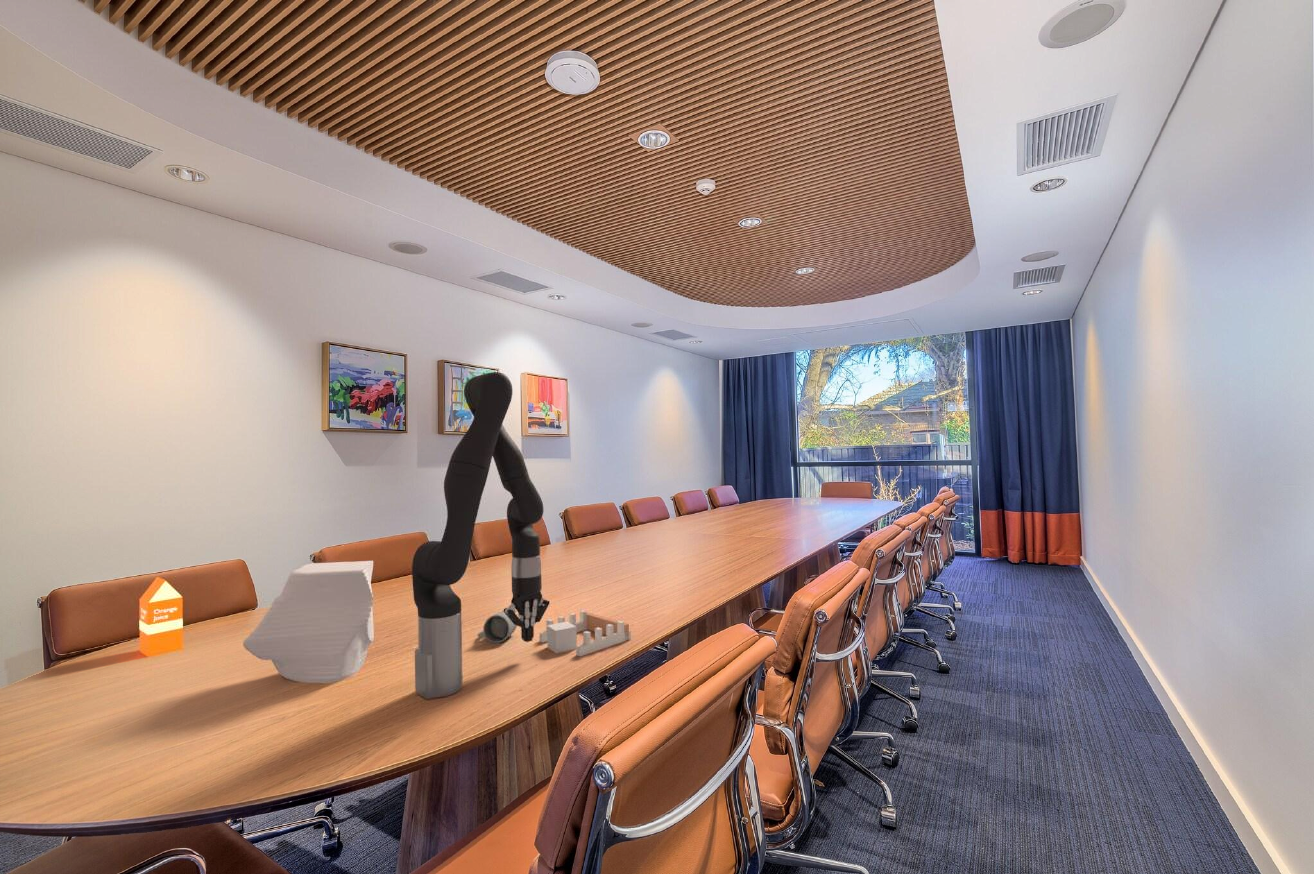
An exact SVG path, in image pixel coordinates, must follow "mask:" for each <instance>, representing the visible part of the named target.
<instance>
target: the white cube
mask: <svg viewBox="0 0 1314 874" xmlns="http://www.w3.org/2000/svg"><path fill="white" fill-rule="evenodd" d="M546 631H547V643H546V645H547V648H548V649H549V650H551V651H552V652H554V653H555V654H560V653H563V652H569V651H572V650H576V646H577V645H578V640H577V639H578V637H577V633H578V632H577V633H576V626H574V625H573V624H571V623H569V621H565V622H562V623H558V622H556V623H553V624H552V625H547V626H546Z"/></svg>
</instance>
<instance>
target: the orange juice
mask: <svg viewBox="0 0 1314 874" xmlns="http://www.w3.org/2000/svg"><path fill="white" fill-rule="evenodd" d="M183 620H184V619H183V596H182V595H181V594H180V593H179V592H178V591H177V590H176V589H175V588H174V587H173V586H172V585H171V584H170V583H169V582H168V581H167V580H166V579H163V578H162V577H159V576H156V578H155V579H154V581H152V583H151V584H150V585H149V587H148V588H147V589H146V591H145V592H144V593H143V594H142V596H141V597H140V598H139V621H138V623H139V651H140V653H142V654H143V655H145V656H146V657H148V658H150V657H154V656H155V657H156V656H159V655H163V654H167V653H173V652H177V651H181V650H184V649H183V646H184V645H183V644H184V643H183V641H184V640H183V637H184V636H183V633H184V632H183V631H184V629H183V627H184V626H183V625H184V621H183Z"/></svg>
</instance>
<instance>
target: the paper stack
mask: <svg viewBox="0 0 1314 874" xmlns="http://www.w3.org/2000/svg"><path fill="white" fill-rule="evenodd" d="M373 570H374V560H360V561H337V562H314V563H306V564H304V565H302V566H300V567H299V568H296V569H294V570H293V571H291V572H290V574H289V576H288V578H287V580H286V582H285V585H284V586H283V588H282V591H281V593H280V595H279V596H277V597H275V598H274V600H273V602H272V603H271V606H270V607H269V609H268V610H267V611H266V614H265V615H264V616H263V617H262V618H261V621H259V624H258V626H256V627H255V629H253V631H252V632H250V634H248V636H247V637H246V638H245V639H244V640H243V642H242V646H243V648H244V649H245V650H246V651H248V652H249V653H250V654H252V656H254V657H256V658H257V659H260V660H261V661H262V660H263V661H264V660H265V661H270V660H271V662H272V664H273V666H274V667H275V669H276V671H277V672H278V673H279V674H280V675H281V676H283V678H285V679H287V680H290V681H293V682H296V683H298V682H299V683H304V684H305V683H307V684H308V683H309V684H313V683H314V684H332V683H337V682H340V681H343V680H345V679H347V678H349V677H352V676H354V675H355V674H357V673H358V672H359V671H360V670H361V668H363V665H364V663H365V659H366V657H367V654H368V650H369V648H370V645H371V643H372V642H374V638H375V636H374V635H375V634H374V633H375V629H374V628H375V627H374V615H373V612H374V611H373V602H374V593H373V590H372V586H371V585H372V584H371V583H372V582H371V581H372V578H373V577H372V576H373Z"/></svg>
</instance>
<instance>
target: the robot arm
mask: <svg viewBox="0 0 1314 874" xmlns="http://www.w3.org/2000/svg"><path fill="white" fill-rule="evenodd" d="M463 396H464V400H465V402H466V405H467V407H468V409H469V411H470V413H471V414H472V417H473V419H472V422H471V424H470V426H469V428H468V429H467V430H466V432H465V433H464V435H463V437H462V438H461V439H460V441H459V443H458V444H457V445H456V447H455V449H454V450H453V452H452V454H451V456H450V460H449V463H448V465H447V470H446V472H445V476H444V481H443V492H444V493H443V494H444V499H445V505H446V512H447V513H446V515H447V517H446V523H445V528H444V532H443V535H442V538H441V541H438V540H429V541H425V542H423V543H422V544H420V545H419V546H418V547H417V549H416V550H415V553H414V554H413V558H412V564H411V578H412V593H413V594H412V595H413V601H414V604H415V606H416V609H417V629H418V630H417V632H418V633H417V634H418V635H417V641H418V644H417V645H418V648H416V649H414V688H415V690H414V691H415V692H414V693H416V694H418V695H419V696H421V697H422V698H424V699H426V700H429V699H430V700H431V699H434V698H443V697H447V696H451V695H454V694H456V693H457V692H459V691H461V690H462V688H463V679H464V678H463V645H462V644H463V642H462V641H463V635H462V634H463V633H462V629H463V628H462V625H463V623H462V600H461V598H460V597H459V596H458V595H457V594H456V592H454V590H453V589H452V587H451V585H454V584H456V583H458V582H459V581H460V580H461V579H462V578H463V576H464V575H465V573H466V571H467V568H468V565H469V560H470V556H471V551H472V550H471V549H472V542H473V536H474V530H475V525H476V521H477V517H478V513H479V509H480V505H481V500H482V496H483V492H484V489H485V486H486V483H487V479H488V476H489V472H490V468H491V463H492V459H493V461H494V464H495V467H496V470H497V472H498V476H499V479H500V483H501V484H502V487H503V488H504V490H506V491H507V492H508V493H510V495H511V497H512V498H511V499H510V501H508V504H507V507H506V519H507V525H508V528H509V533H510V536H511V541H512V542H511V556H512V559H511V565H510V566H511V567H510V568H511V592H512V593H511V594H512V598H511V601H510V605H509V606H508V607H504V608H503V611H504V613H505V614H506V615H507V616H508V618H509V619H510V620H511V621H512V622H513V623H514V625H517V627H520V630H521V633H520V634H521V637H520V638H521V640H522V641H523V642H525V643H529V642H532V641H533V638H534V637H535V632H534V631H535V629H534V626H535V625H536V623H540V621H541V620H542V619H543V616H544V615H545V613H546V611H547V609H548V607H549V606H550V600H547V599H545V598H544V597H543V594H542V592H541V591H542V588H543V587H542V561H541V547H540V545H541V543H540V536H539V534H538V533H537V532H535V529H534V526H533V525H534V524H537V523H538V522H540V521H541V519H542V517H543V515H544V504H543V503H544V502H543V501H542V500H543V499H542V497H541V495H540V494H539V492H538V490H537V488H536V486H535V485H534V483H533V481H532V479H531V477H530V475H529V471H528V468H527V465H526V462H525V458H524V457H523V454H522V451H521V450H520V448H519V447H518V445H517V443H516V442H515V441H514V440H513V439H512V437H511V436H510V434H509V433H508V432H507V430H506V428H505V426H504V425H503V423H504V420H505V418H506V415H507V413H508V410H509V407H510V405H511V402H512V398H513V385H512V382H511V380H510V378H509V377H508V375H506V374H505V373H503V372H500V371H494V372H493V371H492V372H487V373H484V374H479V375H476V376H473V377H471V378H470V379H468V380H467V381H466V383H465V385H464V389H463ZM516 612H517V614H516Z"/></svg>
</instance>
